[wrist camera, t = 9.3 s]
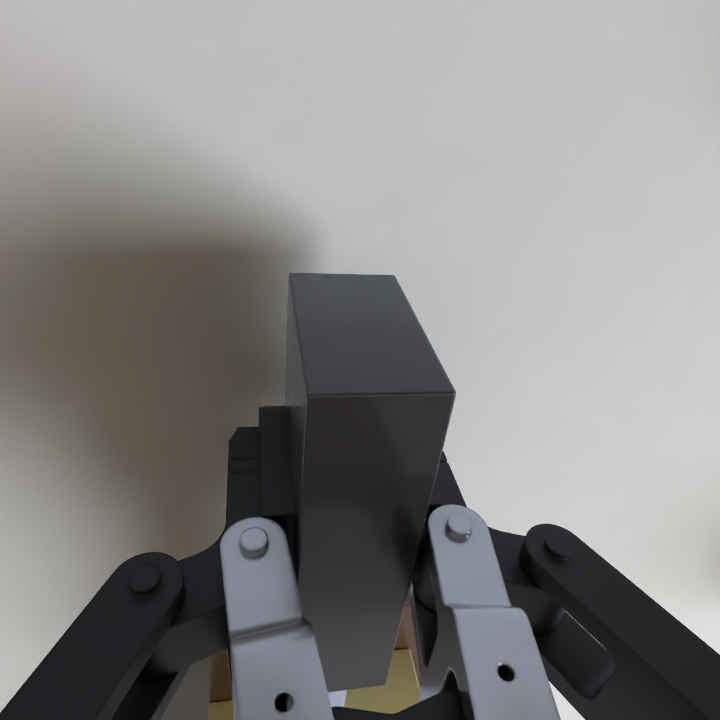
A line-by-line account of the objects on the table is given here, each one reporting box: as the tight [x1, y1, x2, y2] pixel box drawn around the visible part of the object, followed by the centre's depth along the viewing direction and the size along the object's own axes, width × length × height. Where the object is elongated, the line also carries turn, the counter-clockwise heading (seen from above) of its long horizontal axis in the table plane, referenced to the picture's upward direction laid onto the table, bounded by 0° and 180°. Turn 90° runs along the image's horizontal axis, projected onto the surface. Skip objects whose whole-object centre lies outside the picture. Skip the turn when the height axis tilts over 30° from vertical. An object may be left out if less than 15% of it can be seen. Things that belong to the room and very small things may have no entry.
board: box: [160, 583, 420, 720], centre depth 25 cm, size 14×16×1 cm
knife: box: [284, 273, 456, 707], centre depth 15 cm, size 19×2×4 cm, turn 174°
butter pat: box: [344, 648, 420, 714], centre depth 22 cm, size 4×2×3 cm, turn 84°
